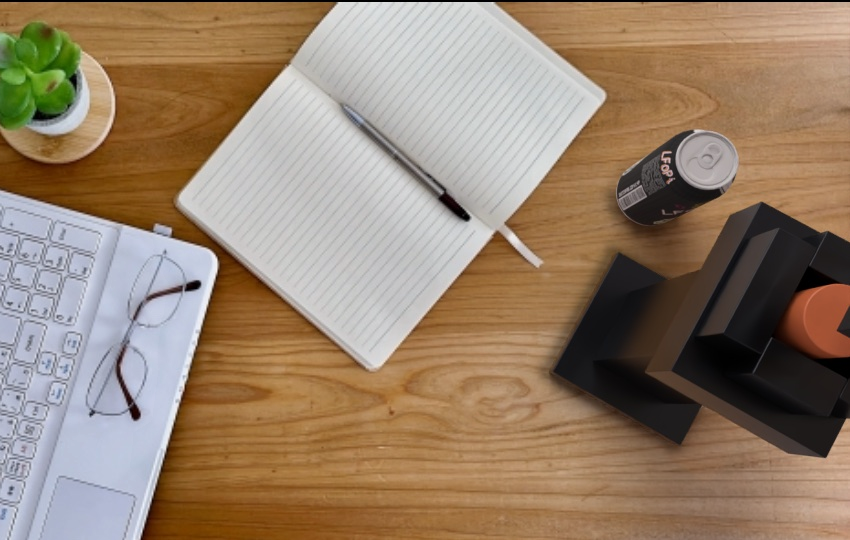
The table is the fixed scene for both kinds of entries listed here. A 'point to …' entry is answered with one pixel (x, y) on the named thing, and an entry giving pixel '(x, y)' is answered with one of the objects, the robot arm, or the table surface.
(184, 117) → the table surface
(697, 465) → the table surface
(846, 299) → the button
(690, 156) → the beverage can
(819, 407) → the button post
